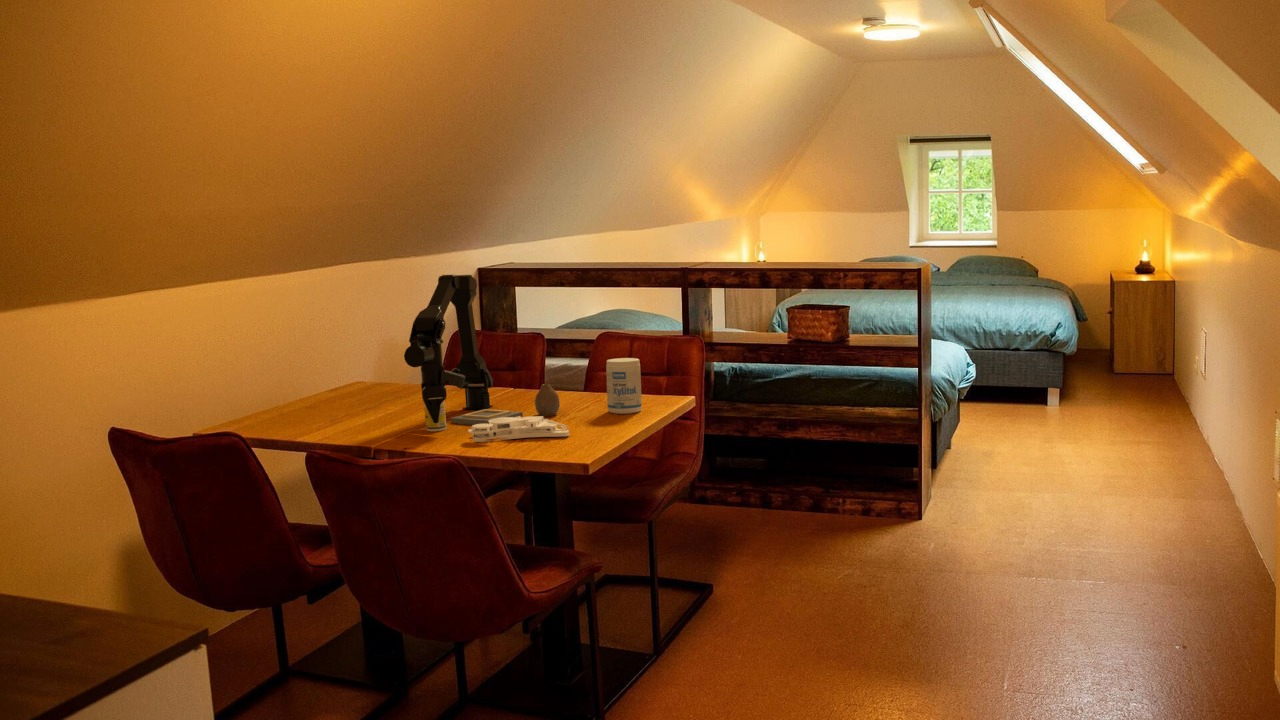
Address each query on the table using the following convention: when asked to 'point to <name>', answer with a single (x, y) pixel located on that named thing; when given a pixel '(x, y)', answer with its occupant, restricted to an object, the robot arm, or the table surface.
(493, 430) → the molded plastic bracket
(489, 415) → the grey square frame tile
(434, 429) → the supplement bottle
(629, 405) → the supplement tub
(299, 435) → the table surface
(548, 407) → the vase
